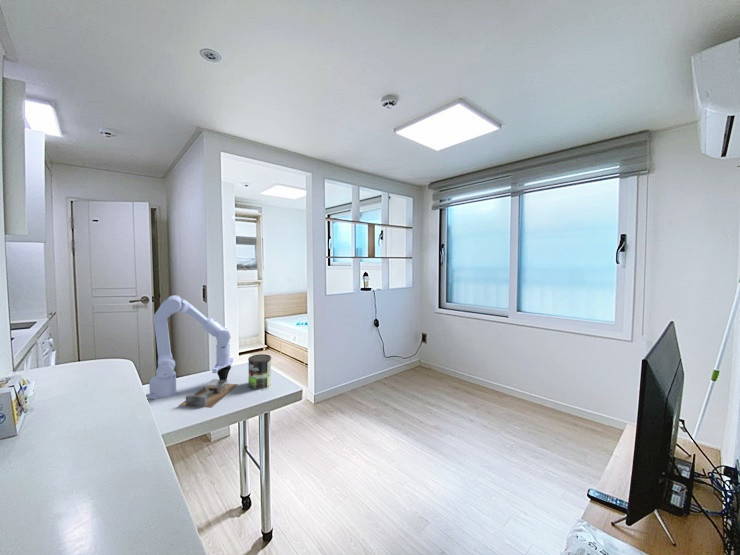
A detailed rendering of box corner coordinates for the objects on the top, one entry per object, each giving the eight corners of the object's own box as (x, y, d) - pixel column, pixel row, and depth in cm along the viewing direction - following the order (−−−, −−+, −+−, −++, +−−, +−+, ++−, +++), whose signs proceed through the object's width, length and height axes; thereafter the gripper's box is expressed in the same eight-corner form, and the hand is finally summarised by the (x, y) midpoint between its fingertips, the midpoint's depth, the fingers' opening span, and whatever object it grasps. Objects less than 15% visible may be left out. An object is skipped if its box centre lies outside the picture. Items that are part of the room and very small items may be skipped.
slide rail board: (178, 407, 123) (178, 396, 122) (210, 384, 145) (210, 374, 144) (211, 409, 122) (211, 398, 122) (238, 385, 144) (238, 376, 143)
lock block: (205, 392, 135) (205, 384, 135) (213, 386, 141) (213, 379, 141) (220, 393, 135) (220, 385, 134) (227, 387, 140) (227, 380, 140)
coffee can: (258, 393, 137) (259, 363, 136) (243, 387, 142) (243, 358, 141) (275, 384, 146) (275, 356, 145) (260, 380, 151) (260, 352, 150)
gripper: (222, 360, 135) (223, 389, 136) (238, 349, 149) (239, 376, 150) (207, 359, 135) (208, 388, 136) (225, 349, 150) (225, 375, 151)
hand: (223, 382), depth 143 cm, fingers closed
